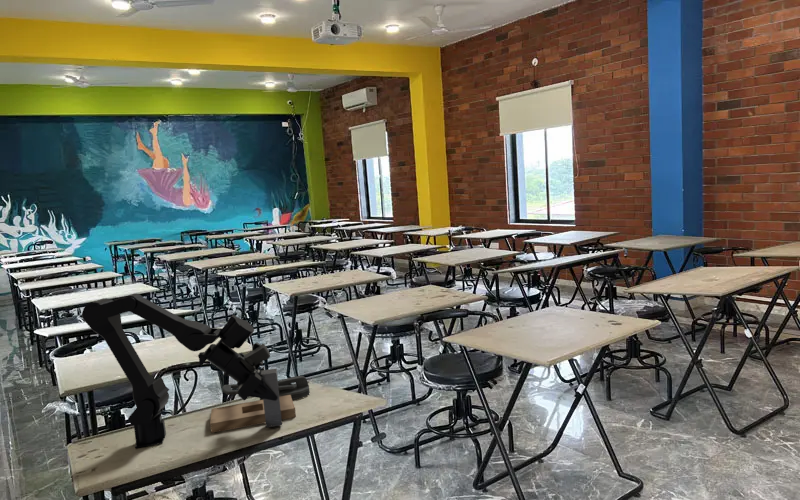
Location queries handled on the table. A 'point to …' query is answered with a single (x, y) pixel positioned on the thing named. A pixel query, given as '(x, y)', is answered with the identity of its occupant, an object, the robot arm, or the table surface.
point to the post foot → (247, 414)
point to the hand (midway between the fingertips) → (276, 396)
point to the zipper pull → (282, 387)
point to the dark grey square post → (270, 406)
